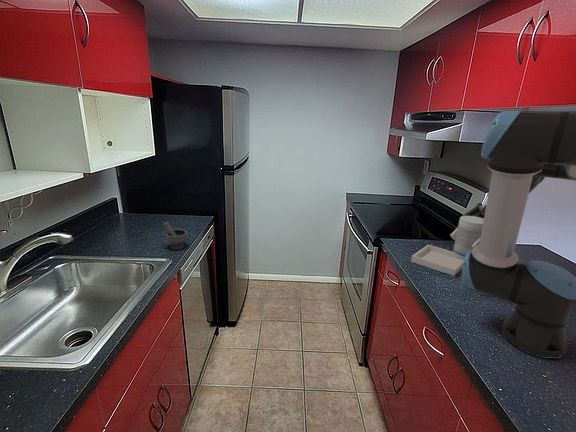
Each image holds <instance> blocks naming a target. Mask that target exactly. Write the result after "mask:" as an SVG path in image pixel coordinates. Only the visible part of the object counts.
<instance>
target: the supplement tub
mask: <svg viewBox="0 0 576 432" xmlns="http://www.w3.org/2000/svg"><path fill="white" fill-rule="evenodd" d="M461 216H462V217H461ZM461 216H460V217H459V218H460V220H459V219H458V224H457V226H458V229H457V234H456V239H455V240H454V245H453V249H452V252H453V254H454V255H455V256H456V257H457V258H459V259H462V260H464V258H465V255H466V254H467V252H468V251H470V250H472V249H473V247H472V245H473V244H474V243H475V242H476V241H477V240H478V239H479V238H480V237H481V232H482V226H483V221H484V218H480V217H475V216H463V215H461Z"/></svg>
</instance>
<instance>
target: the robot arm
mask: <svg viewBox="0 0 576 432" xmlns="http://www.w3.org/2000/svg"><path fill="white" fill-rule="evenodd" d="M480 156H481V158H483V159H484V160H487V162H486V167H487V168H488V169H489V170H490V171H491V179H490V184H489V189H488V194H487V199H486V204H482V202H478V203H477V204H476V206H474V207H473V208H472V209H470V210H469V211H467V212H465V213H464V214H463V215H461V216H460V217H462V216H475V217H480V218H484V221H483V226H482V232H481V237H480V238H479V239H478V240H477V241H476V242H475V243H474V244H473V245H472V247H473V249H472V250H470V251H468V252H467V254H466V255H465V258H464V264H463V268H462V270H461V278H462V283H463V284H464V286H465V287H467V288H469V289H471V290H474V291H475V292H478V293H482V294H483V293H484V294H486V295H490V296H492V297H495V298H499V299H502V300H504V301H507V302H511V303H514V304H515V307H514V309H513V311H512V312H511V313H510V314H509V315H508V316H507V317H506V319H505V320H504V321H503V322H502V326H501V329H502V332H501V334H502V333H503V334H504V336H505V337H506V338H507V339H508V340H509V341H510V342H511V343H513V344H514V345H515V346H517V347H519V348H521V349H523V350H524V351H527V352H529V353H531V354H534V355H538V356H543V357H560V356H562V355H564V354H566V352H567V349H568V341H567V332H566V325H567V323H568V321H569V317H570V315H571V311H572V308H573V306H574V303H575V301H576V276H575V275H573V274H572V273H571V272H570V271H568V270H567V269H565V268H563V267H561V266H558V265H556V264H553V263H550V262H548V261H542V260H537V259H536V260H530V261H529V262H527V263H526V264H525V263H521V262H519V260H520V259H519V255H518V254H517V252H516V251H515V250H516V249H515V248H516V244H517V240H518V238H519V237H518V236H519V233H520V229H521V225H522V221H523V217H524V213H525V209H526V205H527V201H528V197H529V194H530V193H531V192H532V191H533V190H535V188H536V187H537V186H538V185H539V184H541V183H543V181H544V179H546V178H549V179H550V178H552V179H560V180H570V181H576V111H552V110H551V111H550V110H549V111H546V110H521V109H520V110H508V111H507V110H505V111H501V112H499V113H498V114H497V115H496V116H495V117H494V119H492V121H491V123H490V126H489V127H488V130H487V133H486V135H485V137H484V141H483V144H482V147H481V154H480ZM460 217H459V218H458V221H459V220H460ZM454 229H455V230H454V231H453V232H452V233H450V234H449V236H450V237H451V239H452V240H454V241H455V239H456V234H457V229H458V225H457V226H456V227H455V228H454ZM504 336H503V337H504ZM511 343H510V344H511ZM515 346H514V347H515ZM524 351H523V352H524ZM531 354H530V355H531ZM564 356H565V355H564Z"/></svg>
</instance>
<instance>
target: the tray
mask: <svg viewBox="0 0 576 432" xmlns="http://www.w3.org/2000/svg"><path fill="white" fill-rule="evenodd" d="M411 262H413V263H412V264H414V263H416V264H415V265H417V264H419V265H418V266H420V265H422V266H421V267H423V266H425V267H424V268H426V267H428V268H431V269H434V270H437V271H440V272H443V273H447V274H450V275H453V276H455V275H456V274H457V273H458V272H459V271H460V270H461V269H462V268H463V264H464V260H462V259H459V258H457V257H456V256H455V255H454V254H453V250H449V249H444V248H443V247H438V246H434V245H431V244H427V245H426V246H424V247H422V248H420V249H419V250H418V251H417V252H415V253H414V254H412V255H411V258H410V263H411ZM428 268H427V269H428ZM431 269H430V270H431ZM434 270H433V271H434ZM437 271H436V272H437ZM461 271H462V270H461ZM461 271H460V272H461ZM440 272H439V273H440ZM460 272H459V273H460ZM443 273H442V274H443ZM459 273H458V274H459ZM458 274H457V275H458ZM457 275H456V276H457ZM456 276H455V277H456Z"/></svg>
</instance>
